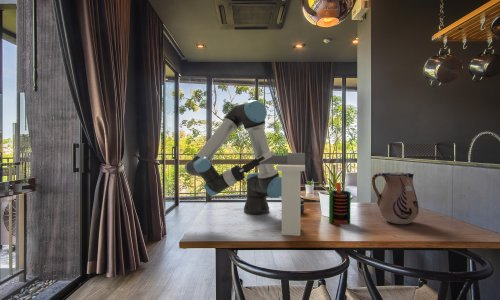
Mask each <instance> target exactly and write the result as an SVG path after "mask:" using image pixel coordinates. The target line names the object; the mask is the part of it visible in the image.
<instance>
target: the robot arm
mask: <svg viewBox="0 0 500 300" xmlns="http://www.w3.org/2000/svg"><path fill="white" fill-rule="evenodd" d="M267 111H268V110H267V108H266V106H265V104H264V103H263V102H261V101H260V100H256V99H254V100H252V99H251V100H249V101H245V102H240V103H237V104H235V105H234V106H233V107H231V109H230V110H229V111H228V112H227V113H226V114H225V116H224V117H223V119H222V122H221V123H220V125H219V126H218V127H217V129H216V130H215V131H214V133H213V134H212V135H211V136H210V137H209V139H208V140H207V141H206V143H205V144H204V145H203V146H202V147H201V148H200V150H199V151H198V153H196V155H195V156H194V157H193V158H192V159H191V160H189V161H187V162H186V163H185V165H184V171H185V173H187V175H190V176H193V177H194V176H196V177H200V178H202V180H203V181H204V182H205V183H204V185H203V186H204V190H205V192H206V194H207V195H209V196H210V197H214V196H216V195H218V194H220V193H221V192H224V190H227V189H229V188H230V187H235V184H237V183H238V182H241V181H242V180H243V181H244V180H245V178H246V200H245V203H244V206H243V212H244V213H245V212H246V213H245V214H249V213H251V215H262V214H263V213H265V214H268V213H269V212H270V206H269V203H268V200H267V197H268V198H269V199H272V198H274V199H275V198H277V199H278V198H279V197H282V176H280V173H279V171H276V168H275V167H274V165H275V164H259V163H261V162H263V161H265V160H267V159H268V158H270V157H272V155H275V153H274V151H273V150H270V147H269V144H268V139H267V136H266V131H265V128H264V126H265V124H266V121H265V120H266V118H267V116H268V113H267ZM242 125H243V126H242ZM241 126H242V127H243V129H244V130H245V131H247V132H248V136H249V141H250V143H251V144H250V145H251V148H252V150H253V151H252V152H253V155H254V159H252V160H251V161H250V162H247V163H246V164H243V165H242V166H240V165H238V164H236V165H234V166H232V167H230V168H229V169H227V170H225V171H223V172H222V173H221V174H220V173H219V172H218V170H217V169H216V168H215V166H214V165H213V164H212V162H211V161H212V159H213V158H214V156H215V155H216V154H217V152H218V151H219V150H220V148H221V147H222V146H223V145H224V144H225V142H226V141H227V140H228V139H229V137H230V136H231V135H232V133H233V132H234V131H237V130H238V129H239V128H240V127H241ZM257 155H262V156H260V157H258V158H257ZM255 167H257V170H258V172H252V173H249V172H251V170H253V169H254V168H255ZM247 173H248V174H247ZM245 174H246V176H245ZM263 215H264V214H263Z"/></svg>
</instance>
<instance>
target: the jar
mask: <svg viewBox="0 0 500 300" xmlns="http://www.w3.org/2000/svg"><path fill="white" fill-rule="evenodd" d="M304 212H305V199H302V198H301V215H303V214H304Z"/></svg>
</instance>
